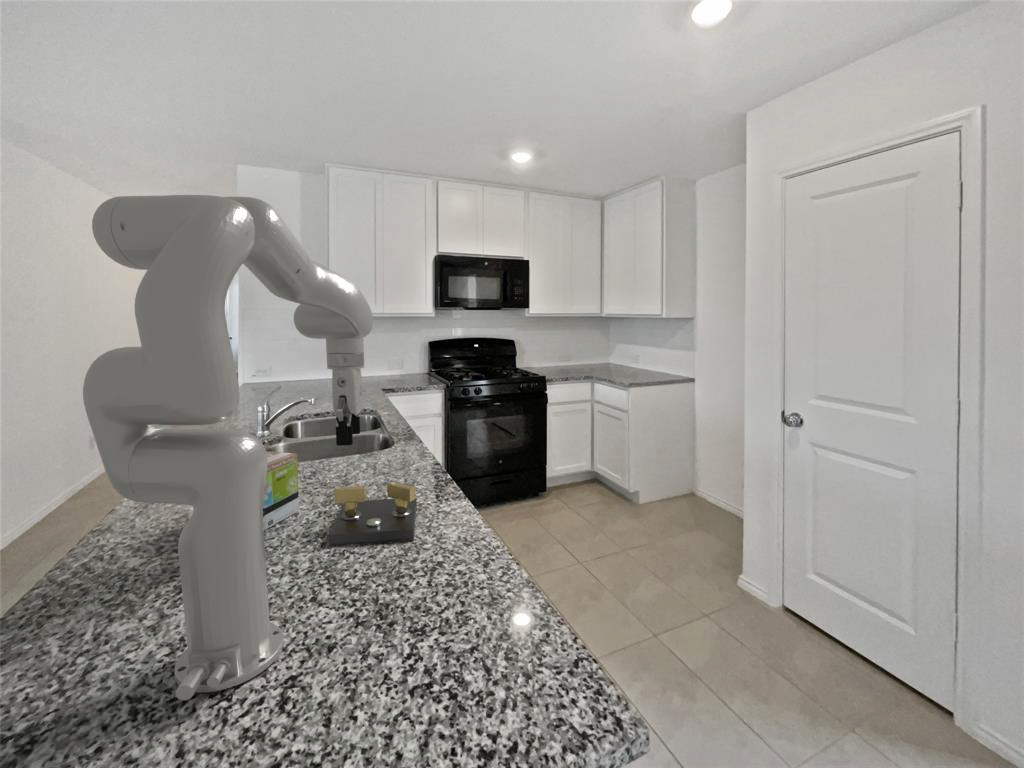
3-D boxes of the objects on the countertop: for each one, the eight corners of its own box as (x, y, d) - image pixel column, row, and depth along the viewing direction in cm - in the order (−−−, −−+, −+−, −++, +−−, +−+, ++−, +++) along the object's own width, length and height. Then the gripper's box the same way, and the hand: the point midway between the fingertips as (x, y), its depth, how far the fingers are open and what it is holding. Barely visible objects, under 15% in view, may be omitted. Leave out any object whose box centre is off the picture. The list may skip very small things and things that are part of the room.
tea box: (255, 538, 97) (250, 471, 95) (214, 534, 99) (209, 468, 97) (301, 510, 112) (297, 451, 110) (265, 507, 114) (261, 449, 112)
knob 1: (365, 515, 102) (364, 488, 101) (334, 517, 101) (333, 490, 100) (366, 510, 105) (365, 484, 104) (337, 512, 104) (336, 485, 103)
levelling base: (413, 540, 97) (413, 526, 96) (328, 546, 94) (328, 532, 94) (416, 507, 114) (416, 495, 114) (345, 511, 112) (344, 499, 111)
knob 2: (409, 515, 102) (408, 488, 101) (386, 510, 105) (386, 484, 104) (416, 511, 104) (415, 484, 104) (394, 506, 107) (393, 480, 107)
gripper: (357, 364, 91) (360, 449, 93) (369, 358, 108) (372, 429, 110) (317, 365, 89) (321, 450, 92) (335, 358, 106) (339, 430, 109)
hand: (349, 439), depth 101 cm, fingers open, 9 cm apart
